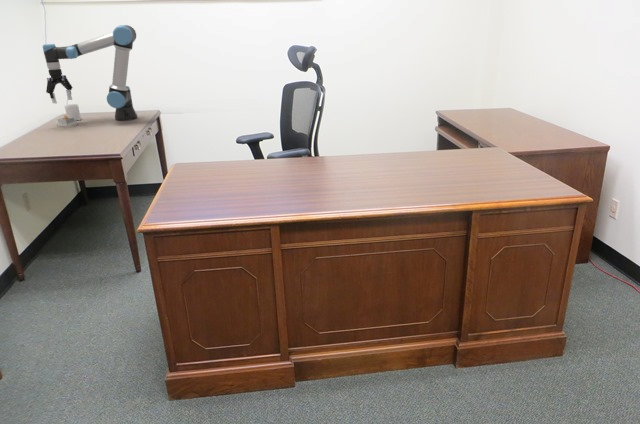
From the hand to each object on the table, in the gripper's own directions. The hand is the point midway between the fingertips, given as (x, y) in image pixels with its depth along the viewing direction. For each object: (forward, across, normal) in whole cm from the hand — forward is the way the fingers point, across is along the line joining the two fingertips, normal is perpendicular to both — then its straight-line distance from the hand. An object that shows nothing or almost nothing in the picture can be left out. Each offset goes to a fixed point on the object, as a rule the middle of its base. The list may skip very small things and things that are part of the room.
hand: (62, 101), depth 315 cm
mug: (+16, -16, -10) cm, 25 cm away
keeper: (+16, 0, -1) cm, 16 cm away
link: (+15, 0, -1) cm, 15 cm away
